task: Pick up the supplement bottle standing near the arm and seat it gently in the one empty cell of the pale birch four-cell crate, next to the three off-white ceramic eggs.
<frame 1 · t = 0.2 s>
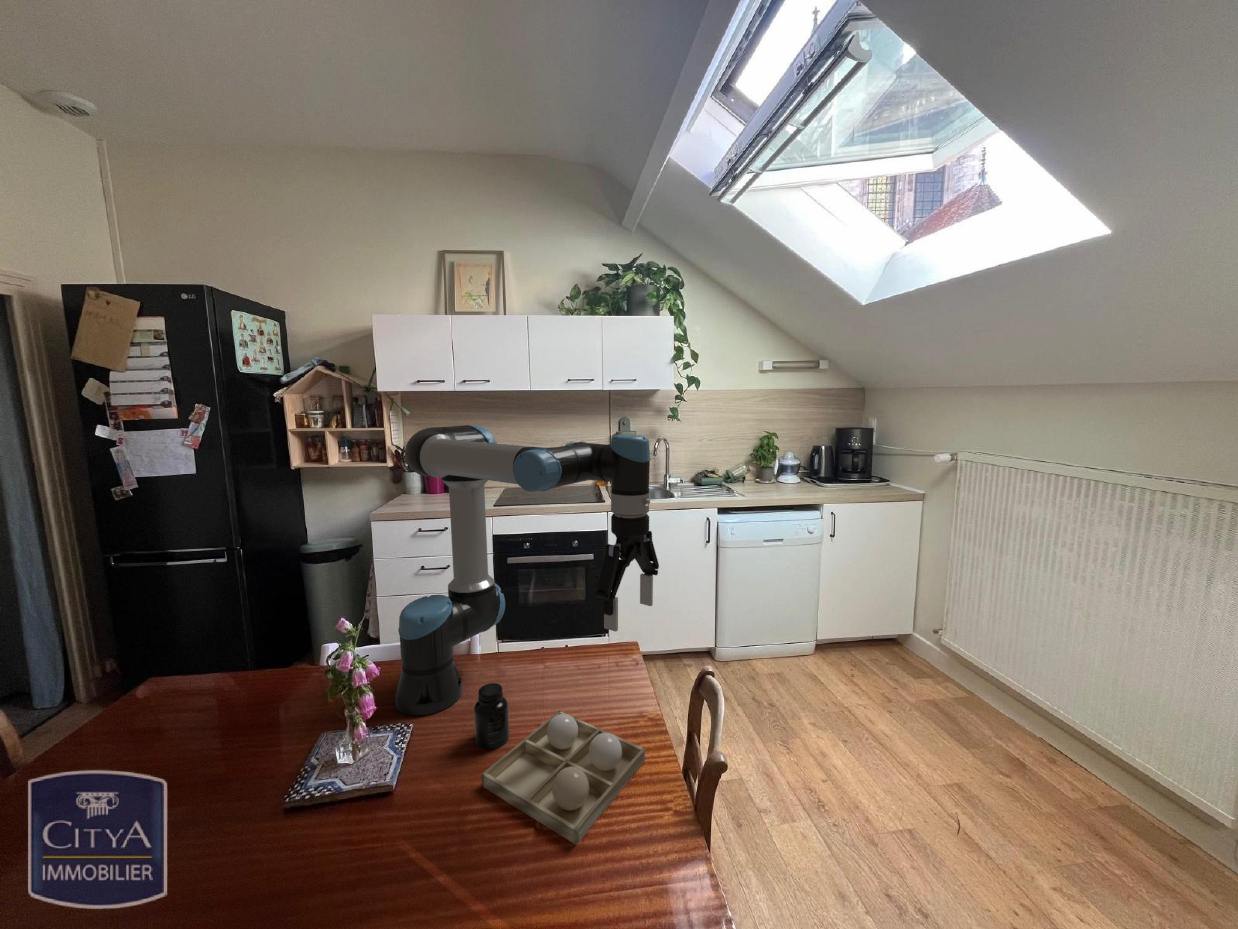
hand: (629, 616, 99), 28 cm above the table, fingers open, 13 cm apart
egg c: (605, 767, 94), point 1 cm above the table, touching crate
supplement bottle: (492, 743, 102), on the table
egg a: (562, 745, 100), point 1 cm above the table, touching crate
crate: (566, 777, 93), on the table
egg b: (570, 804, 85), point 1 cm above the table, touching crate
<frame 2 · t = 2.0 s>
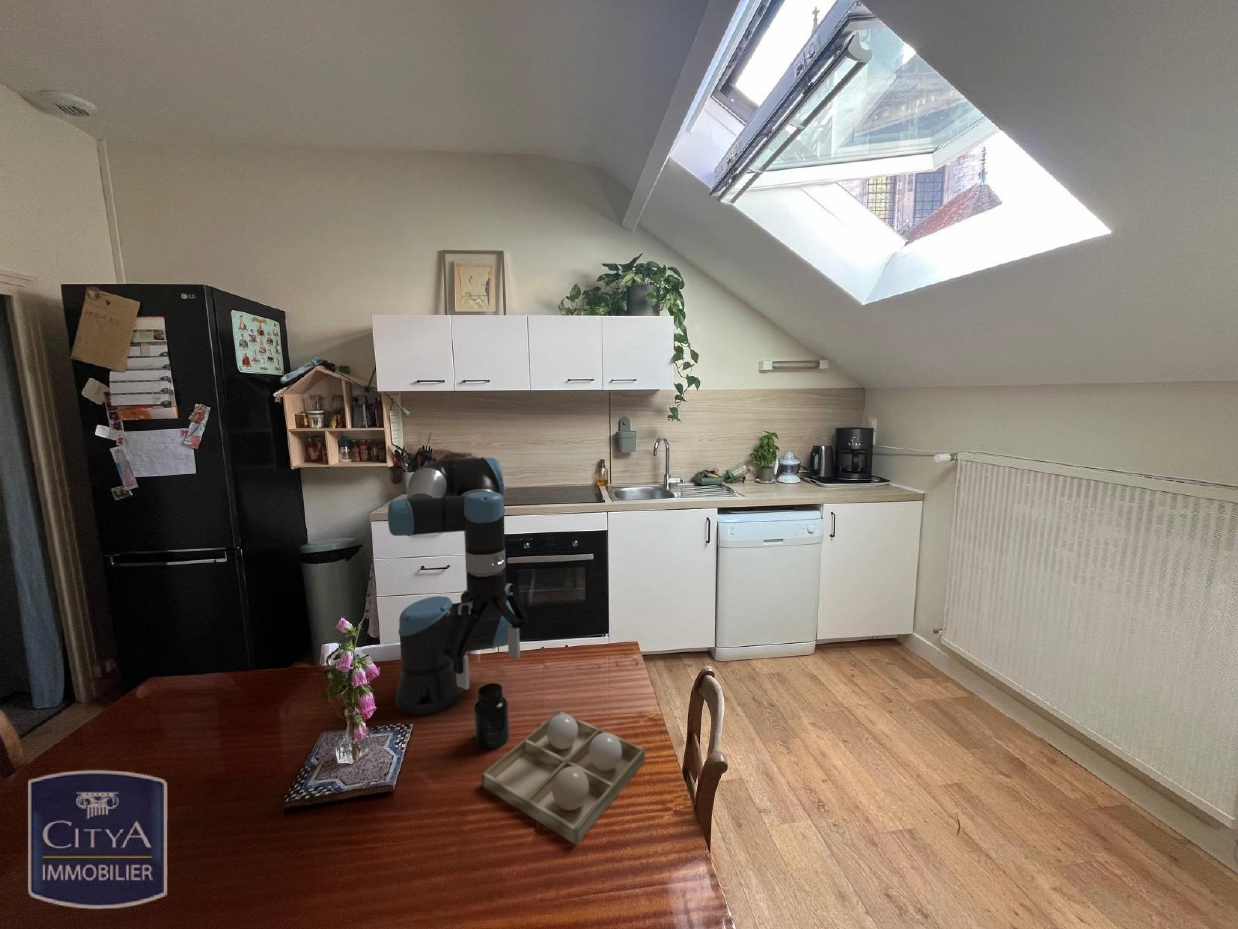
hand: (490, 670, 100), 16 cm above the table, fingers open, 13 cm apart
nothing on the table moved.
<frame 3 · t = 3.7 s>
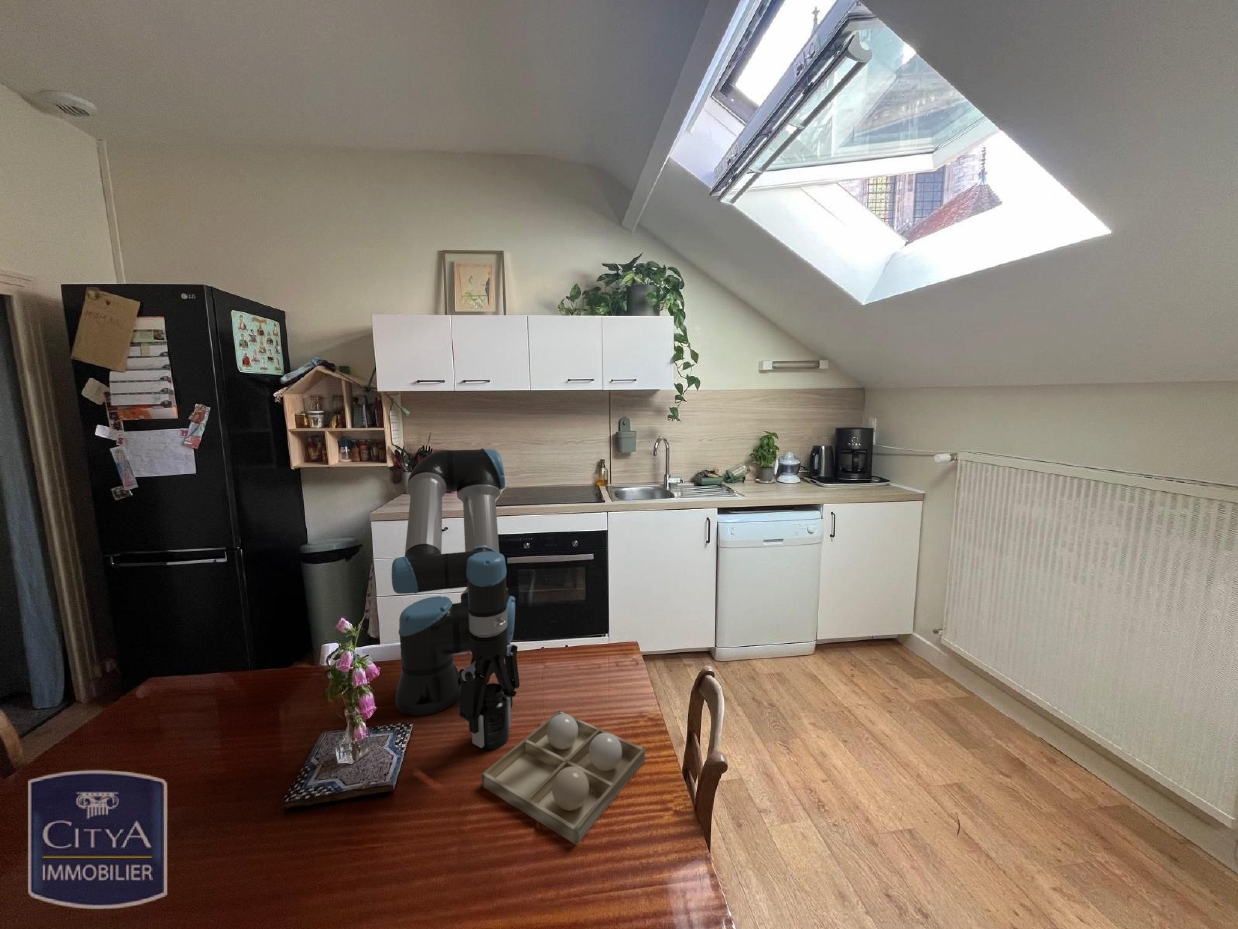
hand: (492, 733, 102), 2 cm above the table, fingers closed on supplement bottle, 7 cm apart
supplement bottle: (492, 743, 102), on the table, touching gripper
everything else where it was.
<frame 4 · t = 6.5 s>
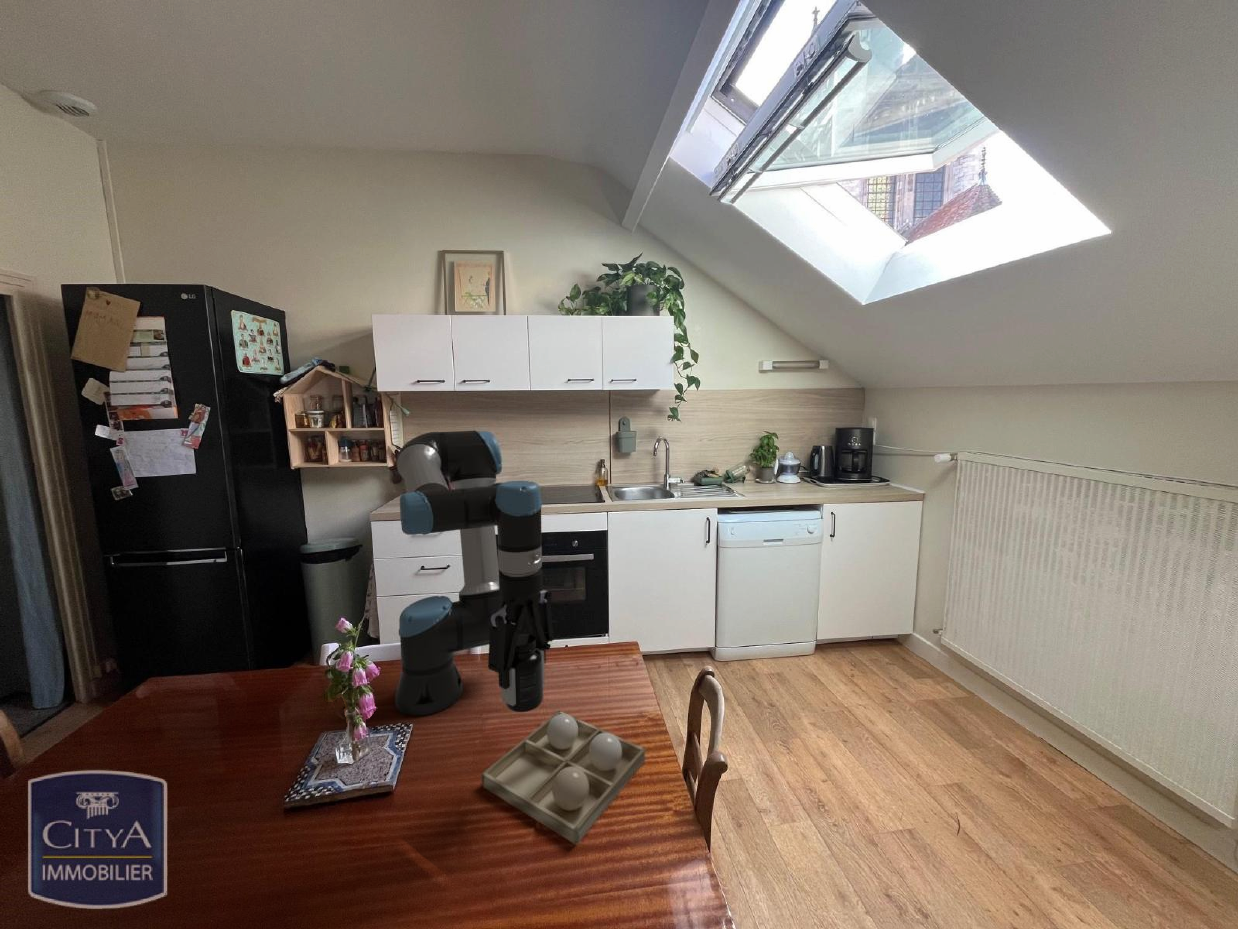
hand: (523, 691, 89), 19 cm above the table, fingers closed on supplement bottle, 7 cm apart
supplement bottle: (524, 703, 89), point 16 cm above the table, touching gripper
everything else where it was.
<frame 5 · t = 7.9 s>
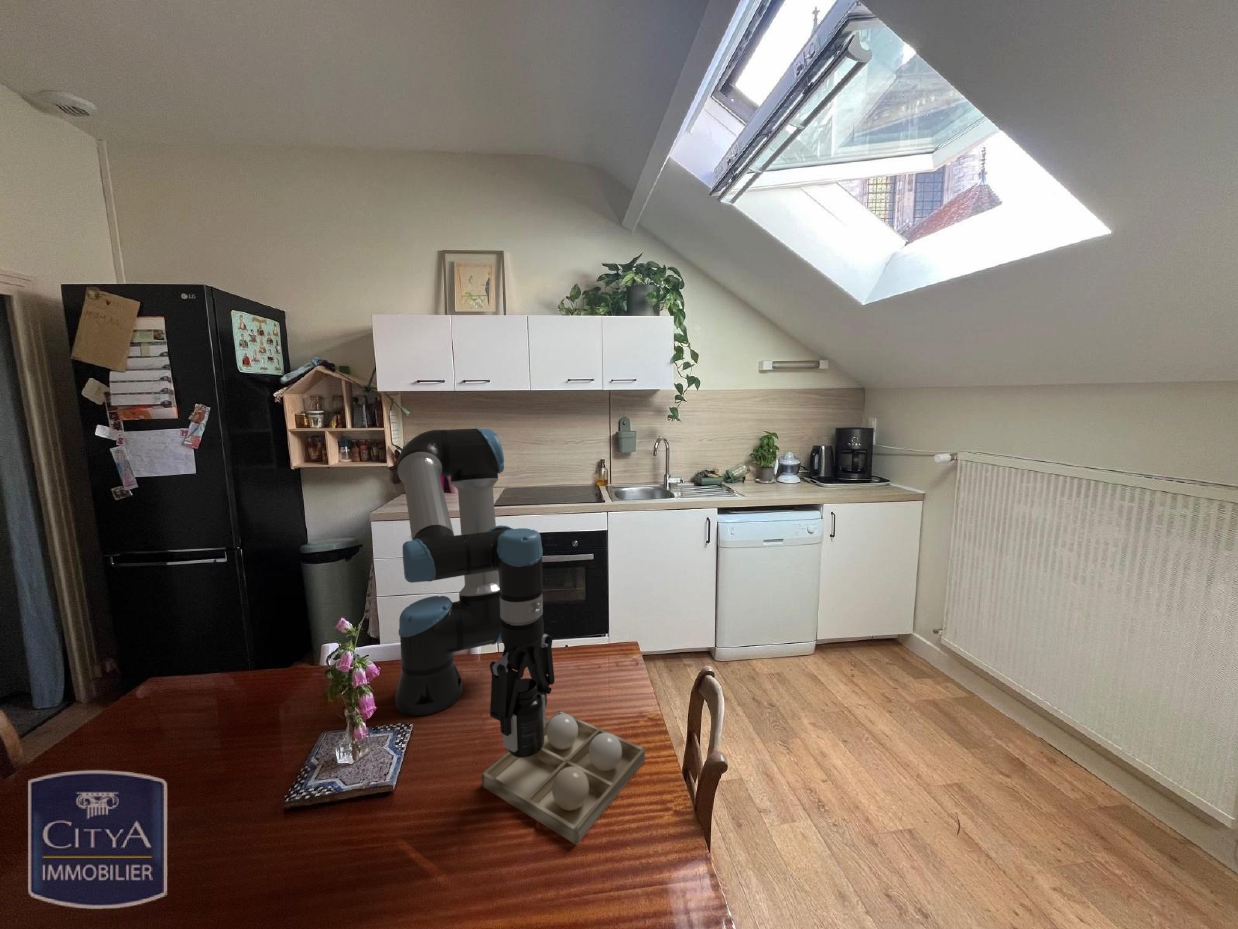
hand: (525, 736, 90), 10 cm above the table, fingers closed on supplement bottle, 7 cm apart
supplement bottle: (525, 747, 90), point 8 cm above the table, touching gripper
everything else where it was.
when the fingers open (5 cm above the table, at t = 9.1 s): supplement bottle drops 2 cm, resting on crate.
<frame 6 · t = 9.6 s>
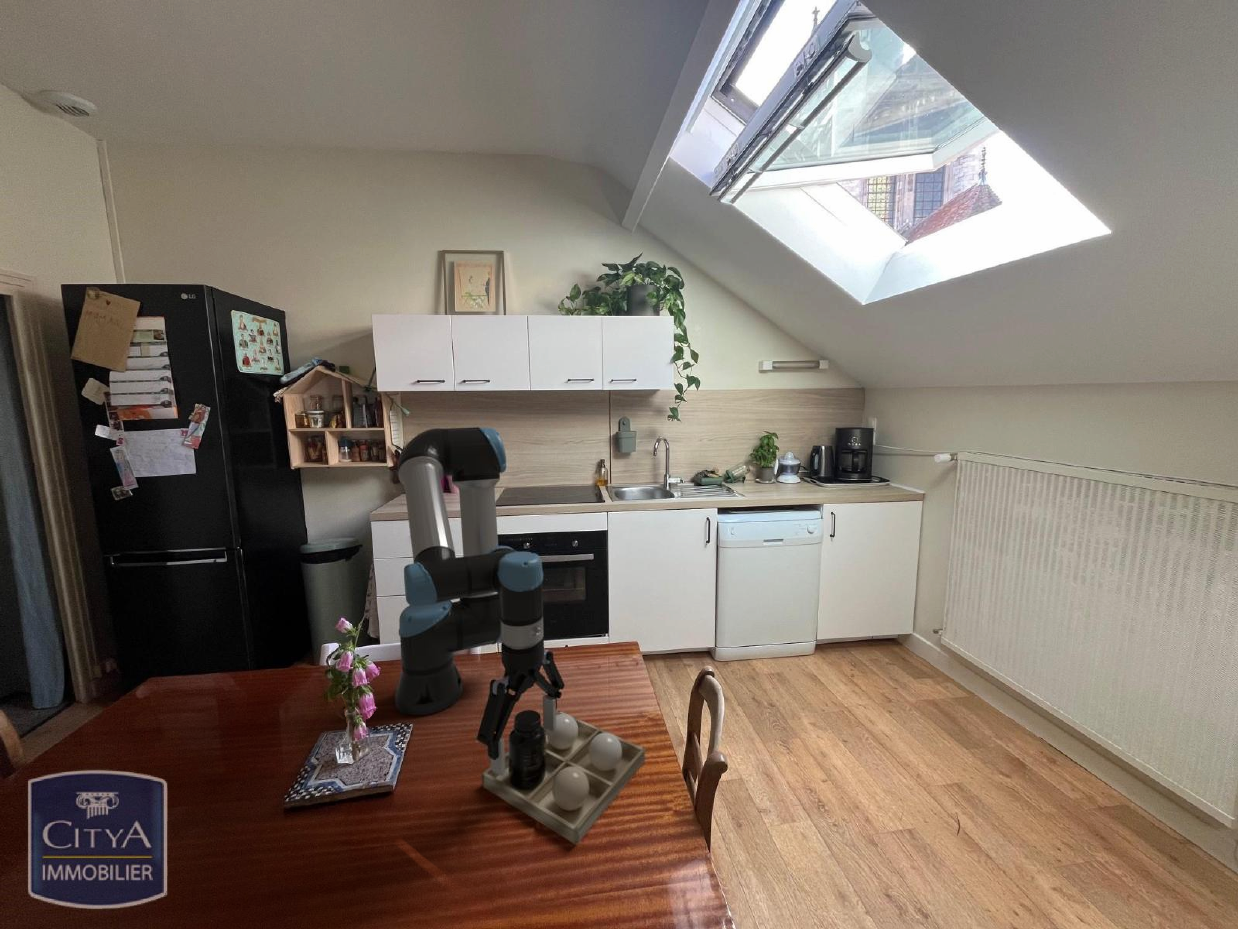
hand: (525, 749, 90), 7 cm above the table, fingers open, 13 cm apart
supplement bottle: (526, 778, 91), point 1 cm above the table, touching crate
everything else where it was.
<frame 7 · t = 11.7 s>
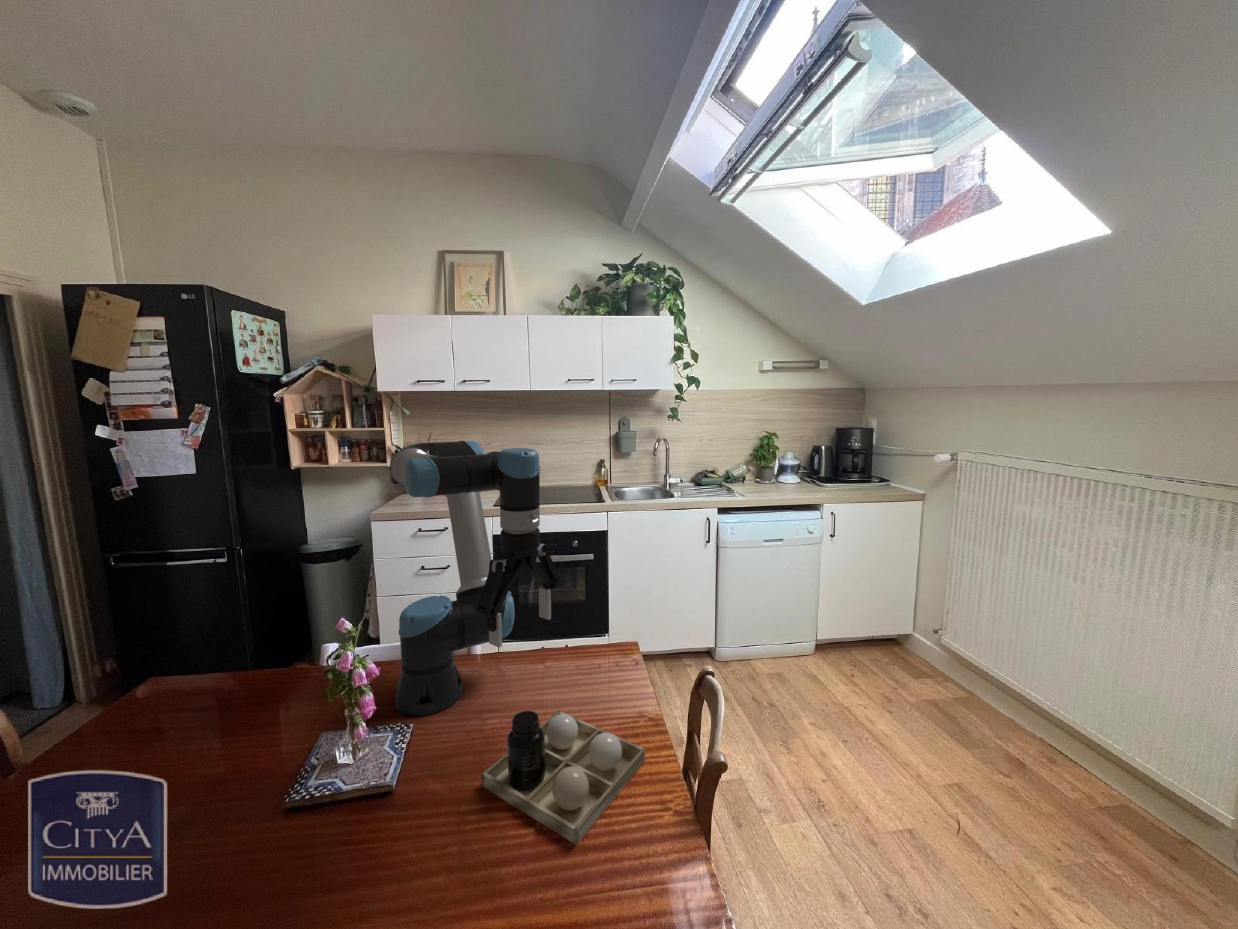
hand: (521, 630, 98), 25 cm above the table, fingers open, 13 cm apart
nothing on the table moved.
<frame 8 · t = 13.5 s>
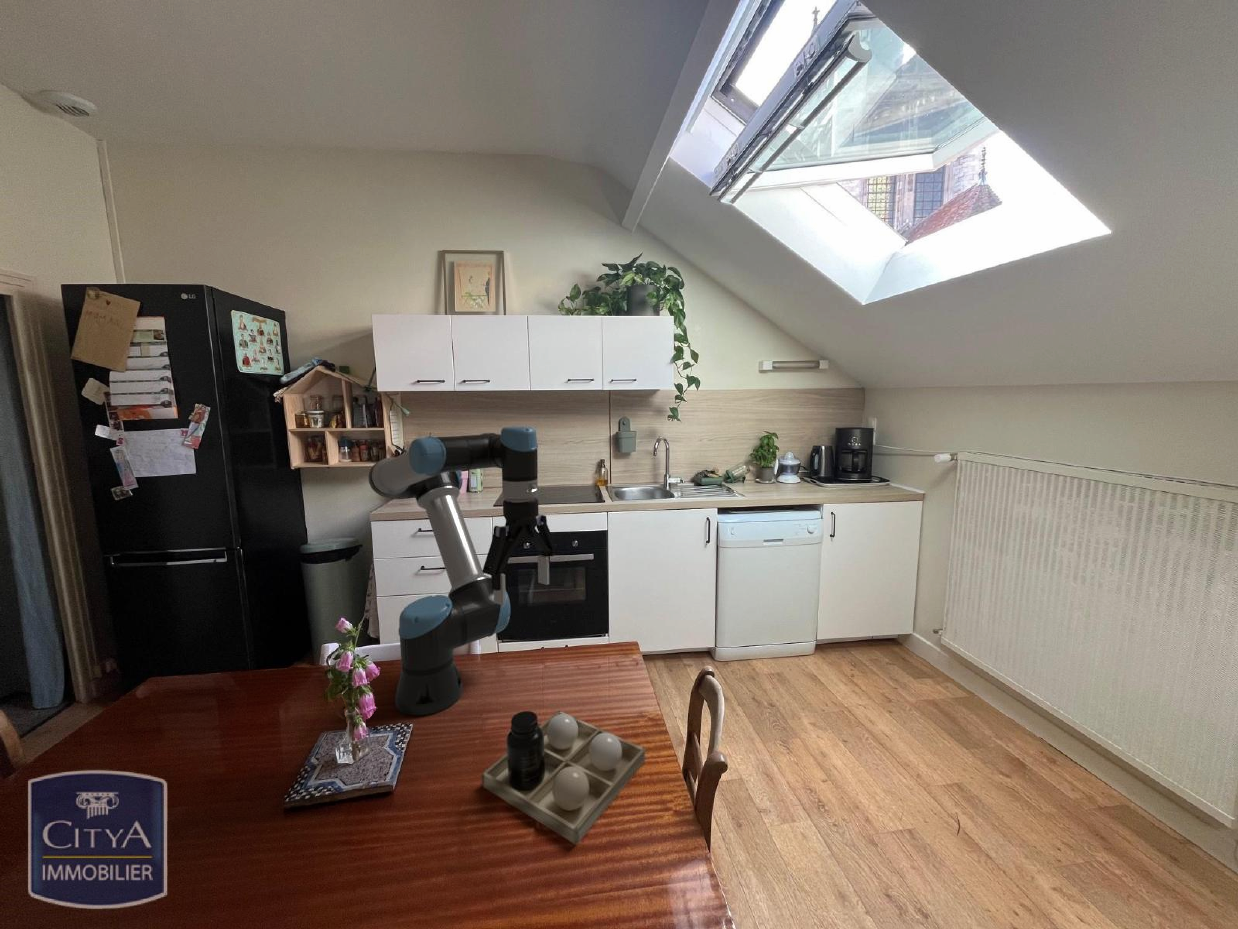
hand: (523, 593, 108), 29 cm above the table, fingers open, 13 cm apart
nothing on the table moved.
at the end: supplement bottle inside the target area on the crate (0.2 cm from its centre), point 0.8 cm above the crate's base; supplement bottle tilted 0°; the gripper is holding nothing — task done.
